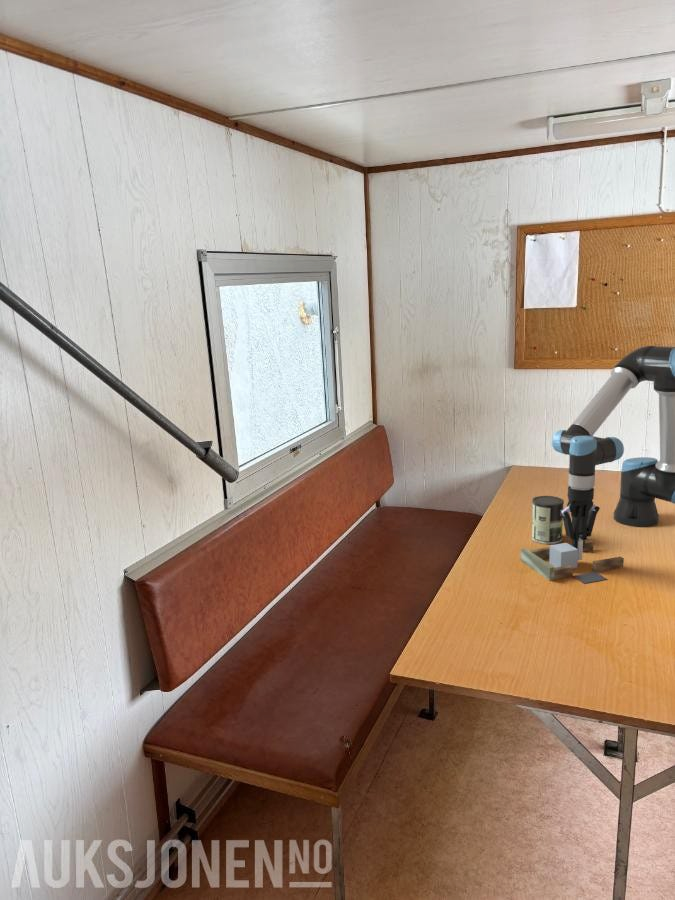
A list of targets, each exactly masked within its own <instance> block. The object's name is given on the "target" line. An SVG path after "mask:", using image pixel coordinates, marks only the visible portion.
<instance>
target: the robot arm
mask: <svg viewBox="0 0 675 900" xmlns="http://www.w3.org/2000/svg"><path fill="white" fill-rule="evenodd" d="M644 381H647V382H653V390H654V392H656V393H657V394H658V412H659V418H658V419H659V458H660V459H659V460H658V459H657V458H655V457H648V456H646V457H643V456H642V457H631V458H627V459H625V460H623V462H622V465H621V471H620V475H621V476H620V491H619V499H618V503H617V505H616V508H615V509H614V511H613V520H615V521H616V522H618V523H619V524H623V525H626V526H631V527H642V528H643V527H652V526H656V525H657V524H658V523H659V519H660V515H659V513H658V512H659V511H658V508H657V505H656V499H658V500H662V501H665V502H667V503H668V502H669V503H671V504H675V346H661V345H660V346H659V345H658V346H656V345H646V346H641V347H639V348H637V349H635V350H632V351H631V352H630V353H628V354H627V355H625V356H624V357H623V358H621V360H619V362H618V363H616V365H615V366H613V368H612V369H611V372H610V377H609V378H608V379H607V380H606V381H605V382H604V384H603V386H601V388H600V389H599V390H598V391H597V393H596V394H595V395H594V396H593V397H592V399H591V400H589V403H588V404H587V405H586V406H585V407H584V409H583V410H582V411H581V413H579V415H578V416H577V417H576V419H575V420H574V421H573V422H572V423H571V425H570V426H569V427H568V428H567V429H560V430H558V431H555V433H554V434H553V436H552V439H551V446H552V449H553V450H554V451H556V452H557V453H560V454H563V455H566V456H567V455H568V456H569V459H568V462H569V465H568V466H569V467H568V483H567V485H568V486H567V499H568V501H567V503H566V507H565V508H563V509H561V510H560V513H561V515H562V516H563V526H564V532H565V536H566V537H567V538H569V539H570V540H571V545H572V546H573V547H575V548H576V549H578V561H582V560H583V554H584V552H583V548H584V547H585V541H588V539H589V537H591V536H592V533H593V529H594V526H595V522H596V519H597V514H598V513H599V511H600V509H601V508H600V507H599V506H597V505H596V504H594V501H593V500H594V496H595V495H594V494H595V488H594V486H595V477H596V466H599V465H603V464H607V463H613V462H615V461H618V460H620V459H621V458H622V457H623V455H624V452H625V447H624V443H623V442H622V440H620V439H619V438H618V437H614V436H607V437H597V436H594V435H595V433H596V432H597V431H598V430H599V429H600V427H601V426H602V425H603V423H604V422H605V421H606V420H607V418H608V417H609V416H610V415H611V414H612V412H613V411H614V410H615V408H616V407H617V406H618V405H619V404H620V403H621V401H622V400H623V399H624V397H625V396H626V395H627V394H628V393H629V392H630V390H631V389H635V388H636V387H637V386H638V385H639V384H640V383H642V382H644Z"/></svg>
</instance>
